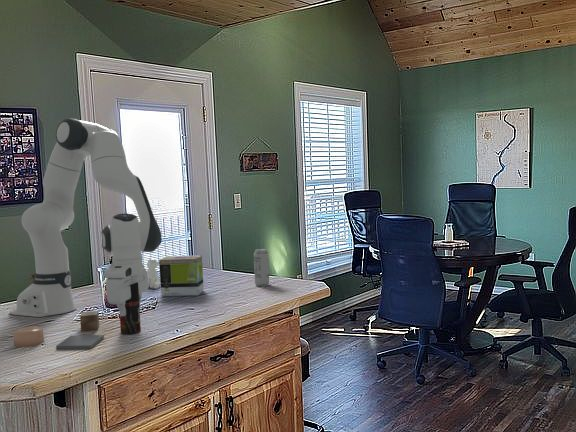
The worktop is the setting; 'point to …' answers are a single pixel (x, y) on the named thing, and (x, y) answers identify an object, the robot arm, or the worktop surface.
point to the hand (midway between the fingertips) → (130, 311)
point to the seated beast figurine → (153, 274)
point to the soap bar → (28, 336)
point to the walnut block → (89, 321)
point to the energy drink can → (261, 267)
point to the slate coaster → (80, 342)
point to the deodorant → (131, 313)
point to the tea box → (181, 275)
